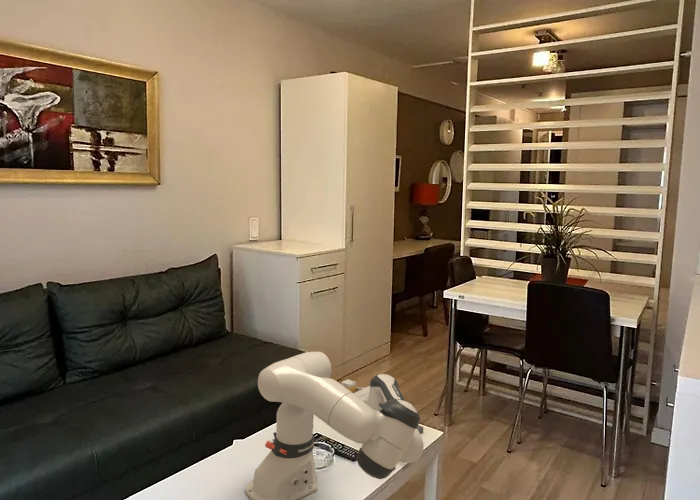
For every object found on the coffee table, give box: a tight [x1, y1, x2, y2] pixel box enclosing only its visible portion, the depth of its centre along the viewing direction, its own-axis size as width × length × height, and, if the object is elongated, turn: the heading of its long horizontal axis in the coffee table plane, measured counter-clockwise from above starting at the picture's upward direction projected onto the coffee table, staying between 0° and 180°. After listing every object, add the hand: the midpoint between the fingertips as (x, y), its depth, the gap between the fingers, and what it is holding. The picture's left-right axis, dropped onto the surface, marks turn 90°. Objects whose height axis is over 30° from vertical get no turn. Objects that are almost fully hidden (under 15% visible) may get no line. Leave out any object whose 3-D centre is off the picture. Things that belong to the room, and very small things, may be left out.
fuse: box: [340, 378, 357, 393], centre depth 203 cm, size 4×4×13 cm
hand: (346, 392), depth 203 cm, fingers open, 8 cm apart
